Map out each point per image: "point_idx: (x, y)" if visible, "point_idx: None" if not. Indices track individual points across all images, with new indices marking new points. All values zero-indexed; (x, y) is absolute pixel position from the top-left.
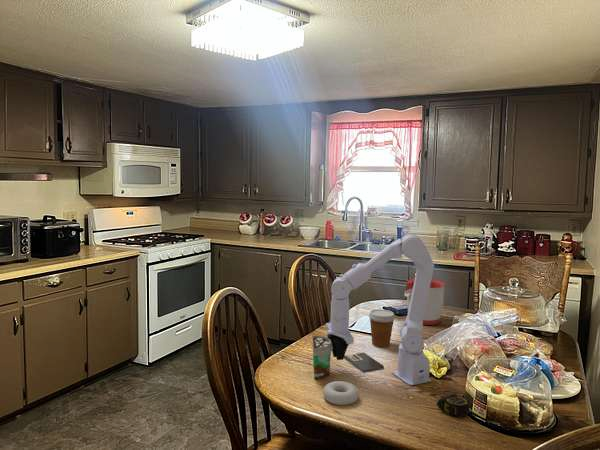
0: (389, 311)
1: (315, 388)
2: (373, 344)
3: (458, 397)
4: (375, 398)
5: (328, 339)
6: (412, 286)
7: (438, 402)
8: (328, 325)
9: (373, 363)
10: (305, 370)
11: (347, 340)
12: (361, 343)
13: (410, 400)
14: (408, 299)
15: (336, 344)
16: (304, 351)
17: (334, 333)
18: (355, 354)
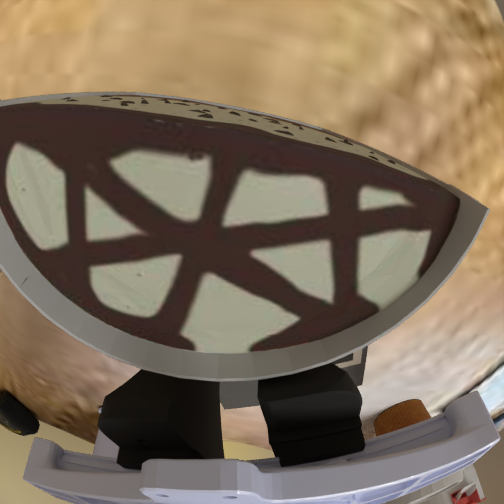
0: (422, 501)
1: (36, 92)
2: (405, 404)
3: (18, 430)
4: (4, 307)
5: (284, 363)
6: (470, 500)
7: (2, 401)
8: (436, 470)
9: (253, 393)
10: (275, 61)
11: (31, 461)
12: (436, 377)
13: (25, 373)
14: (465, 478)
15: (128, 386)
16: (499, 159)
17: (136, 490)
18: (356, 362)
